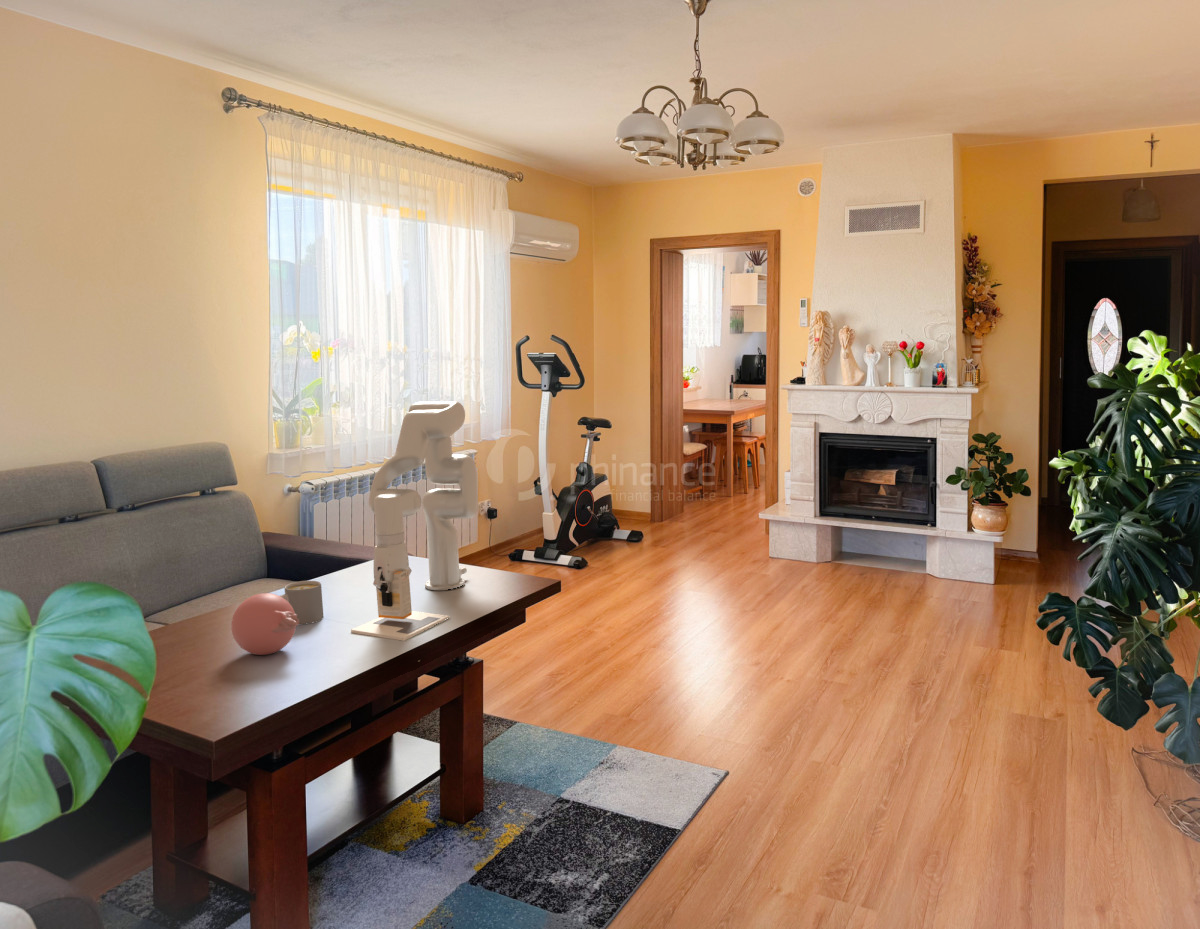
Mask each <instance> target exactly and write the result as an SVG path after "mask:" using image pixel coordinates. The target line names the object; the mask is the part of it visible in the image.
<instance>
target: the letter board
mask: <svg viewBox="0 0 1200 929" xmlns="http://www.w3.org/2000/svg"><path fill="white" fill-rule="evenodd" d="M447 618H449V619H450V615H446V614H437V613H432V612H431V613H430V612H422V611H418V610H417V611H416V610H412V615H410V616H408V617H407V618H405V619H394V618H380V617H379V616H378V617H377V618H374V619H372V620H370V621H368V622H365V623H363V624H361V625H358V626H356V627H354V628H352V629H350V633H351V634H359V635H366V636H371V637H376V638H377V637H378V638H384V639H390V640H396V641H404V642H405V641H407V640H409V639H411V638H412V637H415V636H416V635H419V634H421V633H423V632H424V630H425V631H427V630H429V629H431V628H433V627H435V626H437V625H439V624H441V623H443V622H442V621H444V620H445V619H447ZM440 622H441V623H440ZM444 622H445V621H444ZM438 623H439V624H438ZM436 624H437V625H436ZM434 625H435V626H434ZM430 627H431V628H430ZM428 628H429V629H428Z"/></svg>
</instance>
